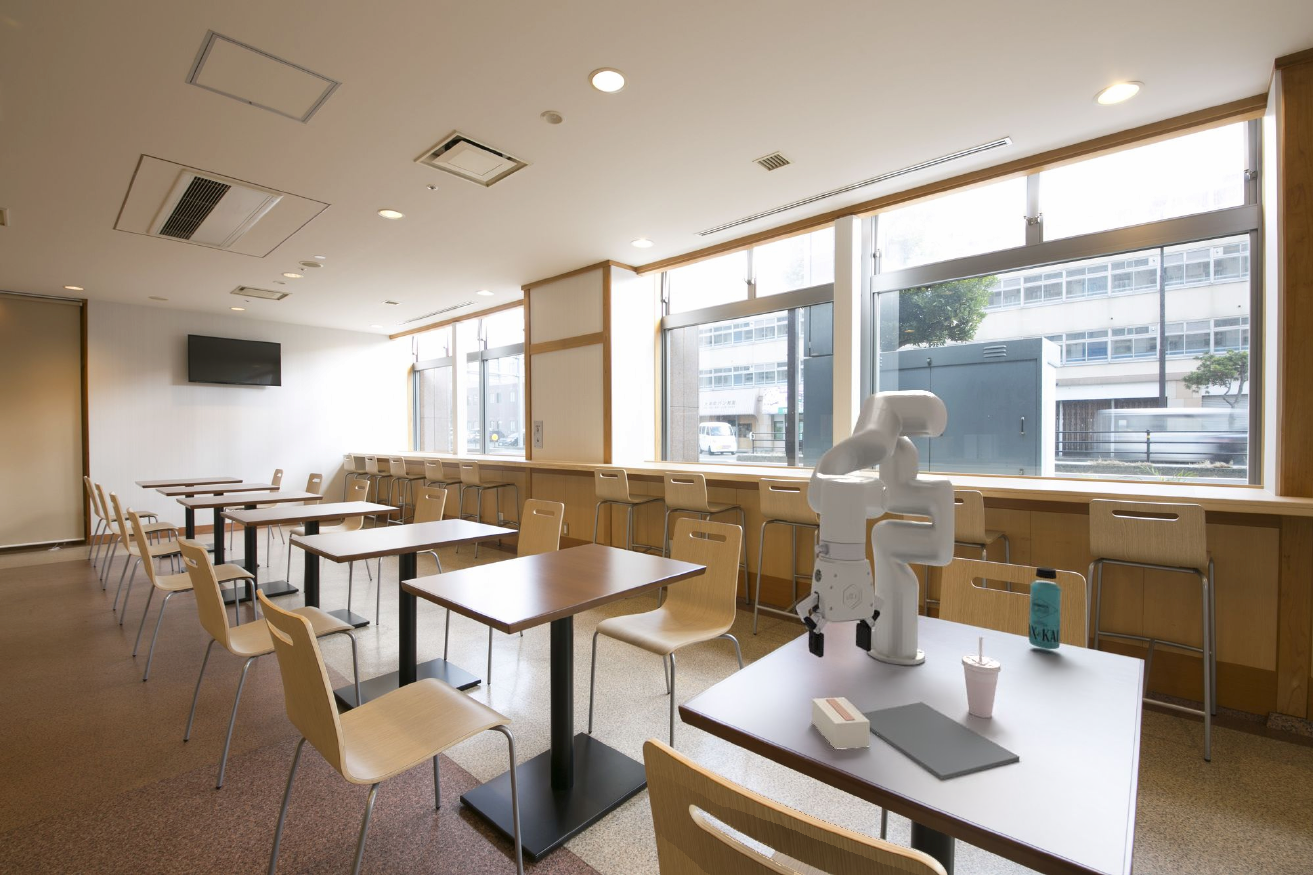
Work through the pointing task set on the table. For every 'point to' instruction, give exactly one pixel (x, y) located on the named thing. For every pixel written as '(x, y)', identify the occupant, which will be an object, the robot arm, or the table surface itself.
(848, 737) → the card box
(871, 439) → the robot arm
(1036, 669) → the table surface
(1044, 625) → the beverage bottle
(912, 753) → the mat
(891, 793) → the table surface
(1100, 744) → the table surface
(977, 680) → the smoothie
